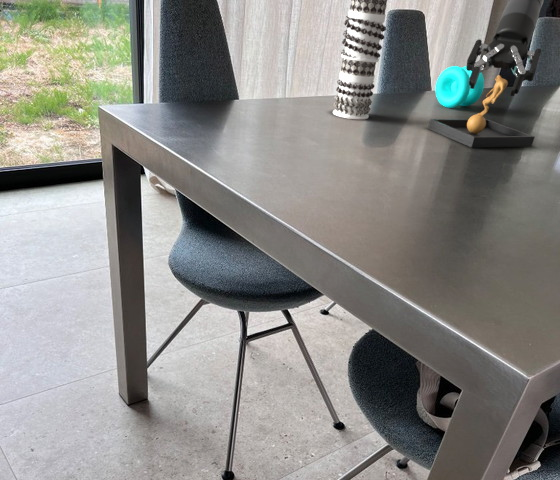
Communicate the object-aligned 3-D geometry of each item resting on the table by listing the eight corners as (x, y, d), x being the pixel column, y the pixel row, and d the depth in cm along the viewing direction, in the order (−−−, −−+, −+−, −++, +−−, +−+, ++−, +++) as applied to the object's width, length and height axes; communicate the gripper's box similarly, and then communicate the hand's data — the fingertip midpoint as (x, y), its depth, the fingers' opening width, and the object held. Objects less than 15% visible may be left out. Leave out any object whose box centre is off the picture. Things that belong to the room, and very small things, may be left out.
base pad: (485, 128, 136) (488, 119, 134) (531, 146, 125) (534, 136, 124) (427, 128, 129) (430, 119, 128) (471, 147, 118) (474, 137, 117)
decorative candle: (325, 114, 130) (343, -17, 116) (339, 108, 137) (357, -16, 123) (362, 121, 128) (385, -11, 113) (374, 115, 135) (398, -10, 120)
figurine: (462, 128, 131) (478, 70, 124) (488, 131, 130) (506, 73, 123) (467, 136, 124) (484, 75, 117) (494, 140, 123) (513, 79, 116)
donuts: (429, 103, 156) (438, 62, 150) (449, 101, 162) (459, 62, 156) (459, 112, 150) (471, 70, 144) (479, 109, 156) (491, 69, 150)
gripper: (485, 6, 121) (460, 71, 119) (555, 15, 116) (530, 83, 114) (481, 34, 128) (457, 95, 126) (547, 43, 124) (523, 107, 122)
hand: (492, 89), depth 120 cm, fingers open, 8 cm apart
